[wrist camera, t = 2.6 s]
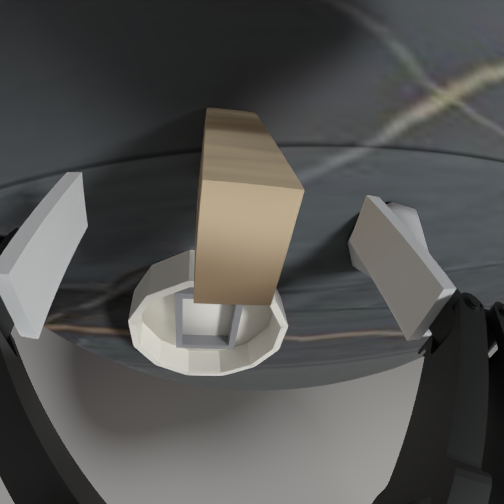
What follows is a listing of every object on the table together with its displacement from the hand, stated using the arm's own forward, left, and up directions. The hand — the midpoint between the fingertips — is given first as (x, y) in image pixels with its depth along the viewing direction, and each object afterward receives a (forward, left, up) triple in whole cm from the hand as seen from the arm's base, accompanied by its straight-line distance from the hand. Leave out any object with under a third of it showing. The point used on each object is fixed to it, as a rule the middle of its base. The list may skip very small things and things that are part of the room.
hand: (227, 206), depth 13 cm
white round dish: (+15, 0, -7) cm, 16 cm away
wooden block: (0, 0, -7) cm, 7 cm away
